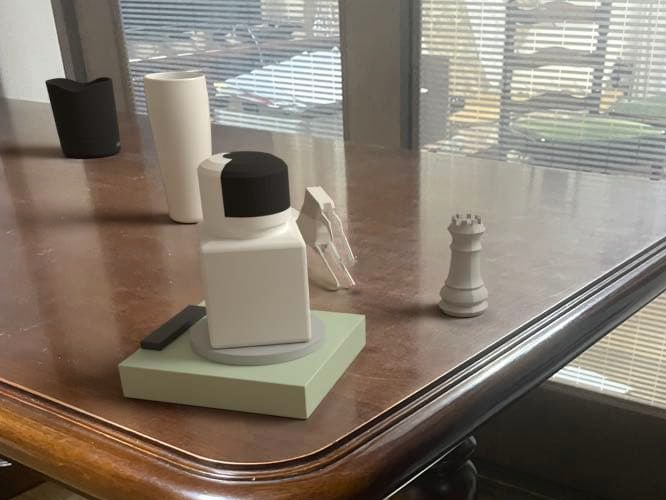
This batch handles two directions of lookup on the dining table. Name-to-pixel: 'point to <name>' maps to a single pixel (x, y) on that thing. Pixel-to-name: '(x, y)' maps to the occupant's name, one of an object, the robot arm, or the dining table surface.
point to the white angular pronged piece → (322, 229)
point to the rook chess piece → (464, 269)
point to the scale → (242, 366)
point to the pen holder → (85, 117)
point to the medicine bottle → (251, 252)
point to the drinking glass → (180, 137)
